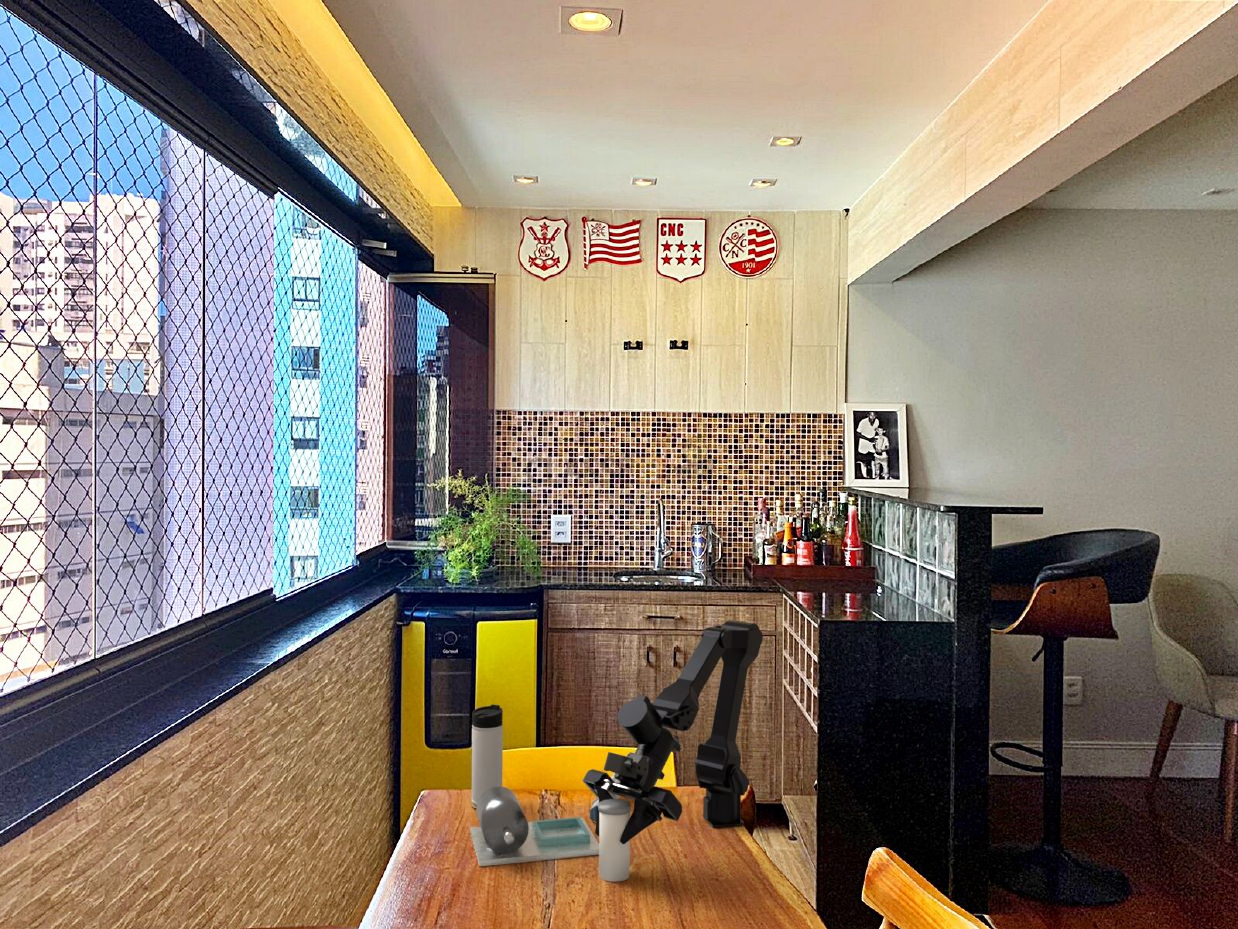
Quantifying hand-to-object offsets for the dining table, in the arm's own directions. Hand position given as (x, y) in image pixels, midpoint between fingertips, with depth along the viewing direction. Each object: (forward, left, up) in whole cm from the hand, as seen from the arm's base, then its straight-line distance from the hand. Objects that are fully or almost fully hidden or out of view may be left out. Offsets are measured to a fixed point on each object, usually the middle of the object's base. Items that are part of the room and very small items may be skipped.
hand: (609, 838), depth 161 cm
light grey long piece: (-10, -35, -7) cm, 37 cm away
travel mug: (+16, -40, -7) cm, 43 cm away
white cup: (-1, -1, -7) cm, 7 cm away
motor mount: (+10, -17, -7) cm, 21 cm away
